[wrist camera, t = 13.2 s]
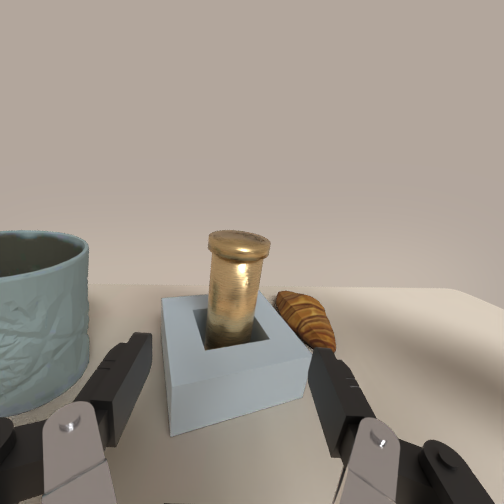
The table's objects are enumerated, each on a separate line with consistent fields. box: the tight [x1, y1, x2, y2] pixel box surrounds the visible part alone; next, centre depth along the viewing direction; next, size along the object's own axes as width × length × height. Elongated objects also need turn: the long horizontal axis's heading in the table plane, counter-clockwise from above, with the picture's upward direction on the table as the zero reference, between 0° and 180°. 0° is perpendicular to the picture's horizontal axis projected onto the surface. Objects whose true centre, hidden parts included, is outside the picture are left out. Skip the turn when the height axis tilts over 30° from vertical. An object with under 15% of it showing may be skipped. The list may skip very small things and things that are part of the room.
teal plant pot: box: [0, 230, 89, 417], centre depth 20 cm, size 10×10×12 cm
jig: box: [161, 290, 312, 437], centre depth 25 cm, size 12×12×5 cm
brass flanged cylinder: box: [204, 230, 270, 351], centre depth 24 cm, size 5×5×14 cm
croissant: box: [276, 291, 336, 353], centre depth 34 cm, size 14×7×5 cm, turn 20°
